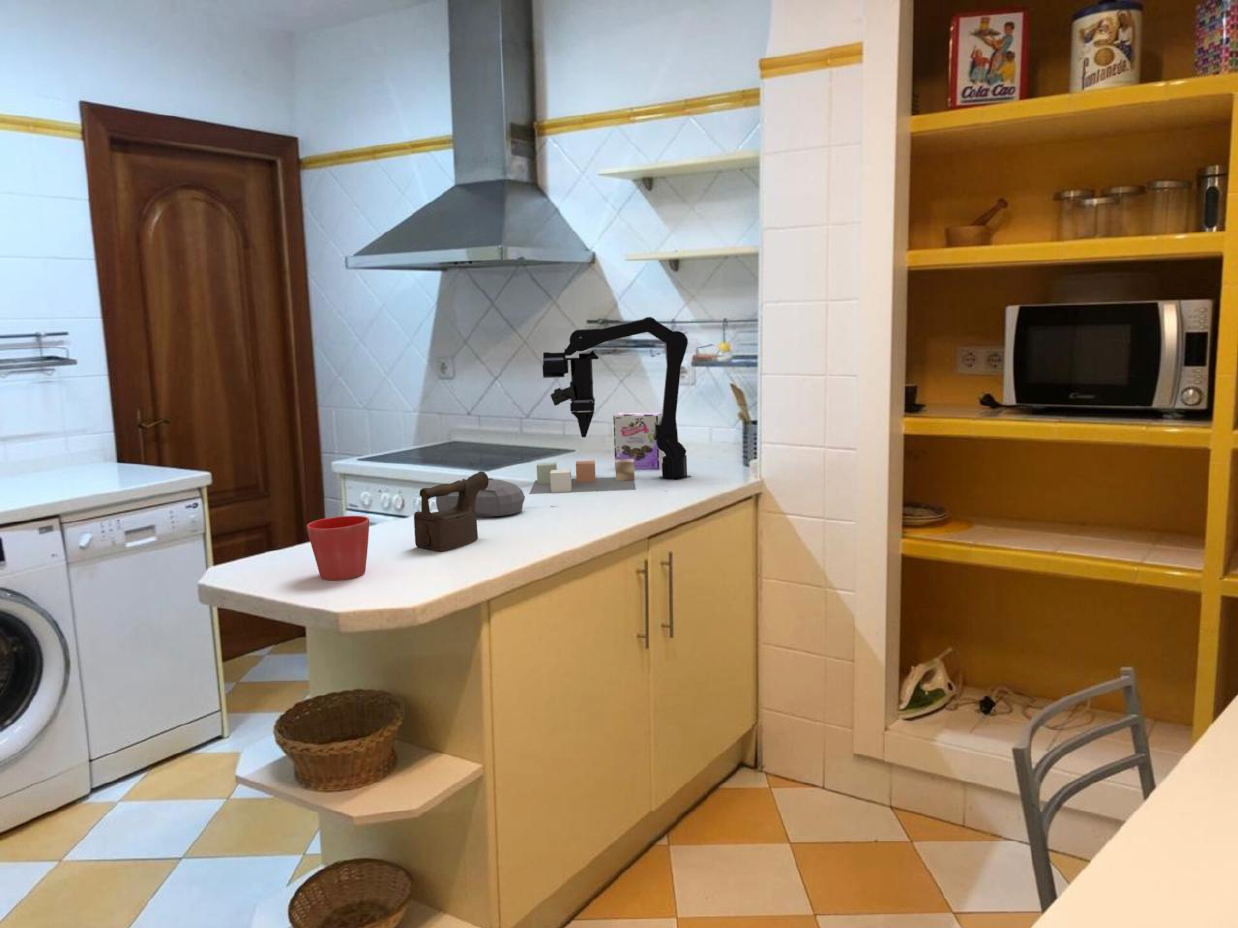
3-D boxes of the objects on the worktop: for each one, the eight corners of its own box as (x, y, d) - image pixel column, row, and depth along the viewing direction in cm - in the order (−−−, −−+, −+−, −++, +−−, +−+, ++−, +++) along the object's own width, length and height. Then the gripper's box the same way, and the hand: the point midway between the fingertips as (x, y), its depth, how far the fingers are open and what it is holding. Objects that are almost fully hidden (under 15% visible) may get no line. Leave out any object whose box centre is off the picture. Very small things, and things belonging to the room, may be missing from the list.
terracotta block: (595, 478, 261) (594, 460, 261) (595, 481, 256) (594, 463, 256) (577, 479, 261) (576, 461, 261) (576, 482, 256) (575, 464, 256)
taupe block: (571, 488, 247) (570, 469, 247) (570, 491, 243) (569, 472, 242) (552, 489, 247) (551, 470, 247) (551, 492, 242) (550, 473, 242)
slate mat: (633, 478, 263) (633, 476, 263) (635, 491, 242) (635, 489, 242) (535, 482, 263) (535, 480, 263) (529, 495, 242) (528, 493, 242)
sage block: (557, 480, 261) (556, 462, 261) (556, 483, 256) (555, 464, 256) (538, 481, 261) (537, 462, 261) (537, 484, 256) (536, 465, 256)
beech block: (634, 477, 261) (633, 459, 261) (634, 480, 256) (633, 461, 256) (615, 478, 261) (615, 459, 261) (615, 480, 256) (615, 462, 256)
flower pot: (297, 581, 167) (292, 526, 166) (337, 565, 177) (332, 514, 176) (348, 585, 163) (343, 529, 162) (385, 568, 173) (381, 516, 172)
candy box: (614, 470, 278) (612, 414, 276) (621, 467, 283) (619, 412, 281) (659, 471, 273) (657, 414, 270) (666, 468, 278) (664, 412, 276)
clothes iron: (500, 537, 196) (496, 472, 194) (437, 553, 184) (433, 484, 182) (475, 533, 201) (471, 469, 199) (412, 548, 189) (408, 481, 187)
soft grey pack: (429, 518, 219) (507, 521, 212) (427, 482, 218) (505, 484, 211) (462, 505, 233) (536, 508, 226) (460, 471, 232) (535, 473, 225)
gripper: (553, 376, 264) (555, 432, 266) (549, 379, 245) (552, 440, 248) (593, 374, 264) (595, 431, 266) (593, 378, 245) (595, 439, 248)
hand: (584, 435), depth 257 cm, fingers open, 9 cm apart
